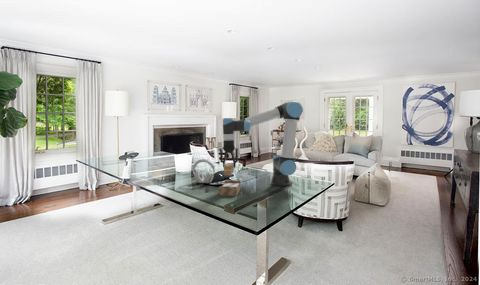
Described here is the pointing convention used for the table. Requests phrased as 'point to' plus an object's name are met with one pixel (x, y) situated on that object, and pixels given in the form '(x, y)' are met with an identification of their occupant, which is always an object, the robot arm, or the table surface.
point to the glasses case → (228, 169)
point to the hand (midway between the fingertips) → (229, 171)
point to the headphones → (199, 175)
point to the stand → (230, 188)
